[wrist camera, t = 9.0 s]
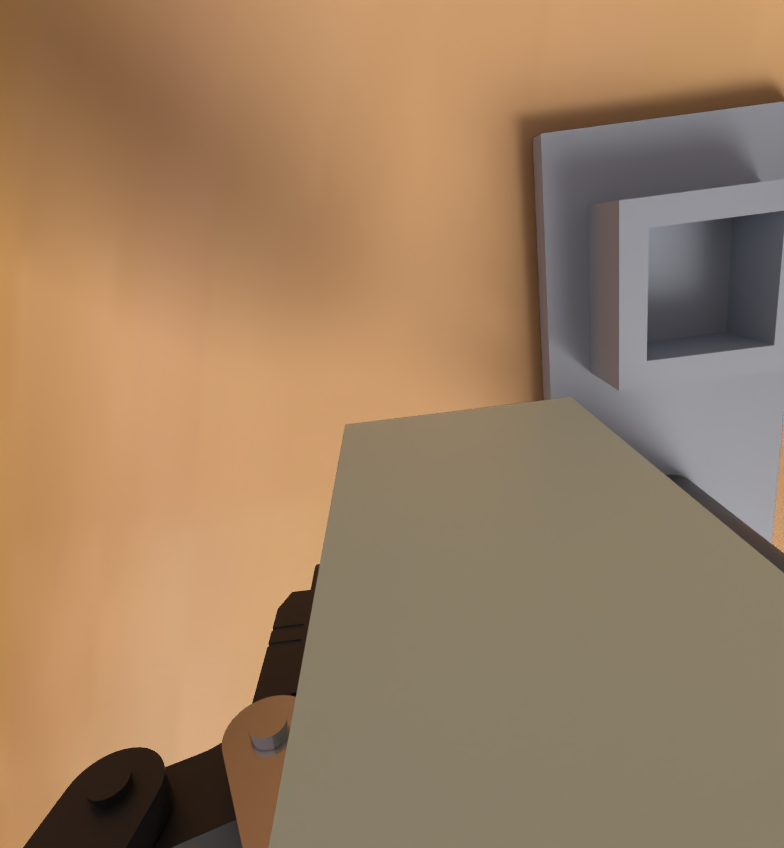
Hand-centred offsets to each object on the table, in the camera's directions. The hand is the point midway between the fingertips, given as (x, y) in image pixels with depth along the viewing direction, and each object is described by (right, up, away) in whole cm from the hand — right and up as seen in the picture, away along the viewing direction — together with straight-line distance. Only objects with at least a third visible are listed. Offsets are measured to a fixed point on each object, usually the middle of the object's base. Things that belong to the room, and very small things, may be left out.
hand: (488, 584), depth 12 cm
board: (+10, +5, +14) cm, 17 cm away
